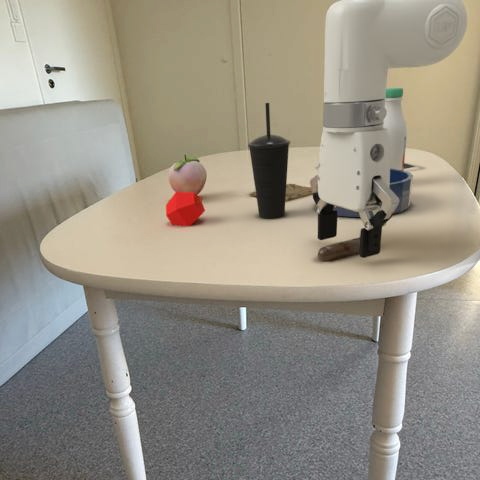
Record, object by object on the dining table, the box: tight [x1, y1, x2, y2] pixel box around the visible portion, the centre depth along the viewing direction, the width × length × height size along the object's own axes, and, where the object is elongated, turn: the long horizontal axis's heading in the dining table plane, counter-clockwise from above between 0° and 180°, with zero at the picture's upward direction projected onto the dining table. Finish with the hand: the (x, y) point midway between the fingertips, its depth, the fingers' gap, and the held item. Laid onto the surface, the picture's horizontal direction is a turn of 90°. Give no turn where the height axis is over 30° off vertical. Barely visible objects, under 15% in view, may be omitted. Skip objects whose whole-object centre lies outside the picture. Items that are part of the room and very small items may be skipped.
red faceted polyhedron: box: [165, 192, 206, 227], centre depth 85 cm, size 7×7×8 cm
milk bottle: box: [383, 87, 408, 171], centre depth 97 cm, size 8×8×20 cm
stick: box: [317, 236, 360, 262], centre depth 65 cm, size 10×2×2 cm, turn 117°
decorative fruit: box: [167, 154, 208, 196], centre depth 102 cm, size 9×8×10 cm
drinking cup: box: [247, 102, 291, 220], centre depth 81 cm, size 8×8×20 cm
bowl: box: [333, 168, 414, 218], centre depth 86 cm, size 18×18×6 cm
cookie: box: [249, 183, 313, 203], centre depth 102 cm, size 12×12×1 cm
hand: (347, 246), depth 65 cm, fingers open, 9 cm apart
